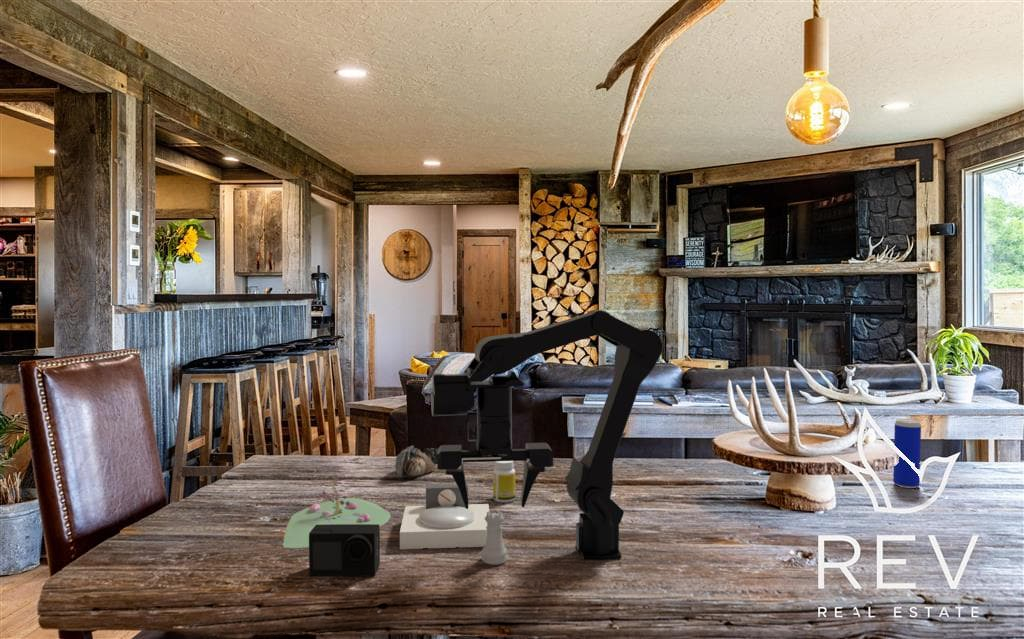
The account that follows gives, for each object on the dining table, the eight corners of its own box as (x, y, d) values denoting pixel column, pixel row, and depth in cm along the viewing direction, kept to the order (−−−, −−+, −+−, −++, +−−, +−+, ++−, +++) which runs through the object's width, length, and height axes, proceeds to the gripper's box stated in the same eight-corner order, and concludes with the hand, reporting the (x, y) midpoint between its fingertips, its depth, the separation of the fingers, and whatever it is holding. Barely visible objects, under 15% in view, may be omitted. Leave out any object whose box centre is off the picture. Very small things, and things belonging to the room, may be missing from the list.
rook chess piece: (493, 552, 115) (493, 506, 115) (513, 559, 113) (513, 512, 112) (475, 561, 112) (475, 513, 112) (495, 568, 109) (495, 519, 109)
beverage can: (919, 485, 155) (921, 420, 154) (919, 490, 151) (920, 423, 150) (893, 481, 158) (895, 417, 157) (892, 487, 153) (894, 421, 153)
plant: (365, 554, 116) (364, 502, 116) (249, 550, 118) (248, 499, 118) (400, 507, 141) (400, 464, 141) (304, 504, 143) (304, 462, 142)
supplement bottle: (520, 499, 144) (520, 460, 144) (504, 504, 141) (504, 464, 141) (503, 494, 148) (503, 456, 147) (488, 499, 144) (488, 460, 144)
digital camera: (306, 580, 105) (305, 535, 104) (316, 565, 110) (315, 523, 110) (373, 580, 105) (372, 535, 105) (379, 565, 110) (379, 523, 110)
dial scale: (488, 519, 132) (488, 483, 132) (492, 546, 118) (492, 506, 118) (405, 521, 131) (405, 485, 130) (399, 549, 117) (399, 509, 116)
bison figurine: (393, 482, 158) (436, 481, 158) (392, 452, 158) (435, 451, 157) (402, 469, 170) (442, 467, 170) (401, 441, 170) (441, 440, 169)
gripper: (544, 404, 120) (544, 491, 121) (438, 406, 118) (439, 494, 119) (553, 416, 109) (553, 511, 110) (436, 418, 107) (437, 515, 108)
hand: (495, 507), depth 112 cm, fingers open, 9 cm apart
